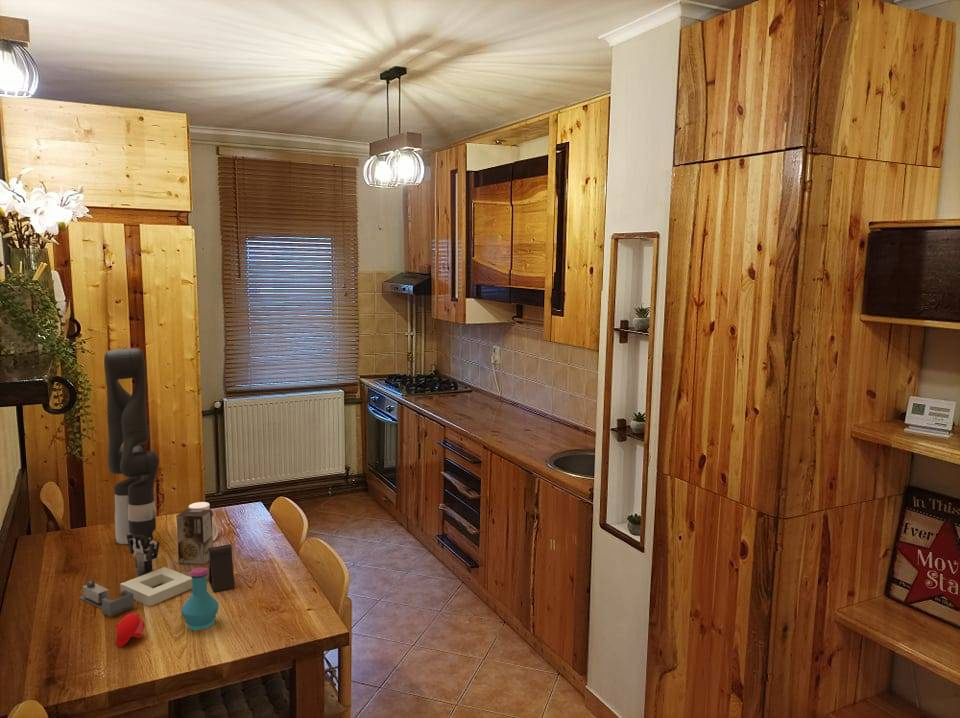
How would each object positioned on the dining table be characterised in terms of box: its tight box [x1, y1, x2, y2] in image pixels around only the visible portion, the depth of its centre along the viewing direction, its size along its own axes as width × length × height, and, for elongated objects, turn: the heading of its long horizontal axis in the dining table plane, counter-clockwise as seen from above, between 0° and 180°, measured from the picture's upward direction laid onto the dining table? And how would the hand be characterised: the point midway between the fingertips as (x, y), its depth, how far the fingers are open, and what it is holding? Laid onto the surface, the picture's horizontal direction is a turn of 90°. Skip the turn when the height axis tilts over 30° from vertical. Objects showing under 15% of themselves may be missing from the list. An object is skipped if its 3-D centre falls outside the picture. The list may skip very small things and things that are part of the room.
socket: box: [119, 566, 192, 607], centre depth 201 cm, size 14×14×3 cm
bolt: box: [82, 579, 110, 604], centre depth 195 cm, size 8×3×4 cm, turn 58°
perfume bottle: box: [181, 567, 220, 631], centre depth 182 cm, size 9×9×15 cm
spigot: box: [135, 547, 152, 578], centre depth 211 cm, size 5×5×9 cm
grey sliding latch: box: [78, 590, 135, 618], centre depth 193 cm, size 18×7×4 cm, turn 58°
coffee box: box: [175, 508, 214, 565], centre depth 223 cm, size 9×6×16 cm
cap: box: [115, 612, 145, 648], centre depth 174 cm, size 8×6×6 cm
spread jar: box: [188, 501, 219, 541], centre depth 241 cm, size 12×11×12 cm
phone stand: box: [207, 544, 236, 593], centre depth 206 cm, size 9×6×12 cm, turn 30°
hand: (144, 569), depth 212 cm, fingers closed on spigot, 4 cm apart
